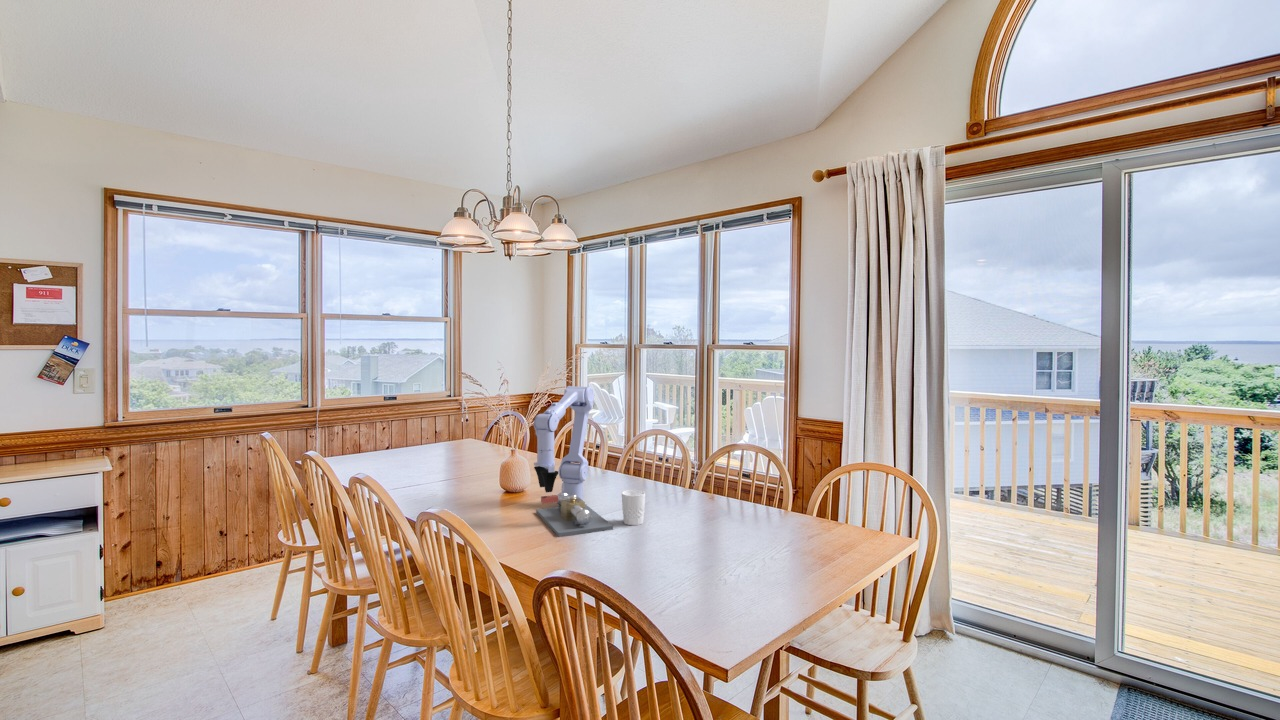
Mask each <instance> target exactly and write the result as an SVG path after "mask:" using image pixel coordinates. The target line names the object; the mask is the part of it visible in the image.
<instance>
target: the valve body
mask: <svg viewBox="0 0 1280 720" xmlns="http://www.w3.org/2000/svg"><path fill="white" fill-rule="evenodd" d="M556 495H557V496H564V495H568V494H567V493H565V492H562V491H561V492H559V493H557V494H556ZM555 503H556V504H557V505H558V507H559V511H560V512H561V516H562V517H563V518H564V519H565V520H566V521H571V520H572V524H573V525H574V526H580V525H588V524H589V523H590V521H591V519H592V515H591V513H590V512H589V511H588V510H586V509H585V504H586V502H585V501H584V499H583V500H582V499H580V498H579V497H578V498H577V499H565V500H558V502H555Z"/></svg>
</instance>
